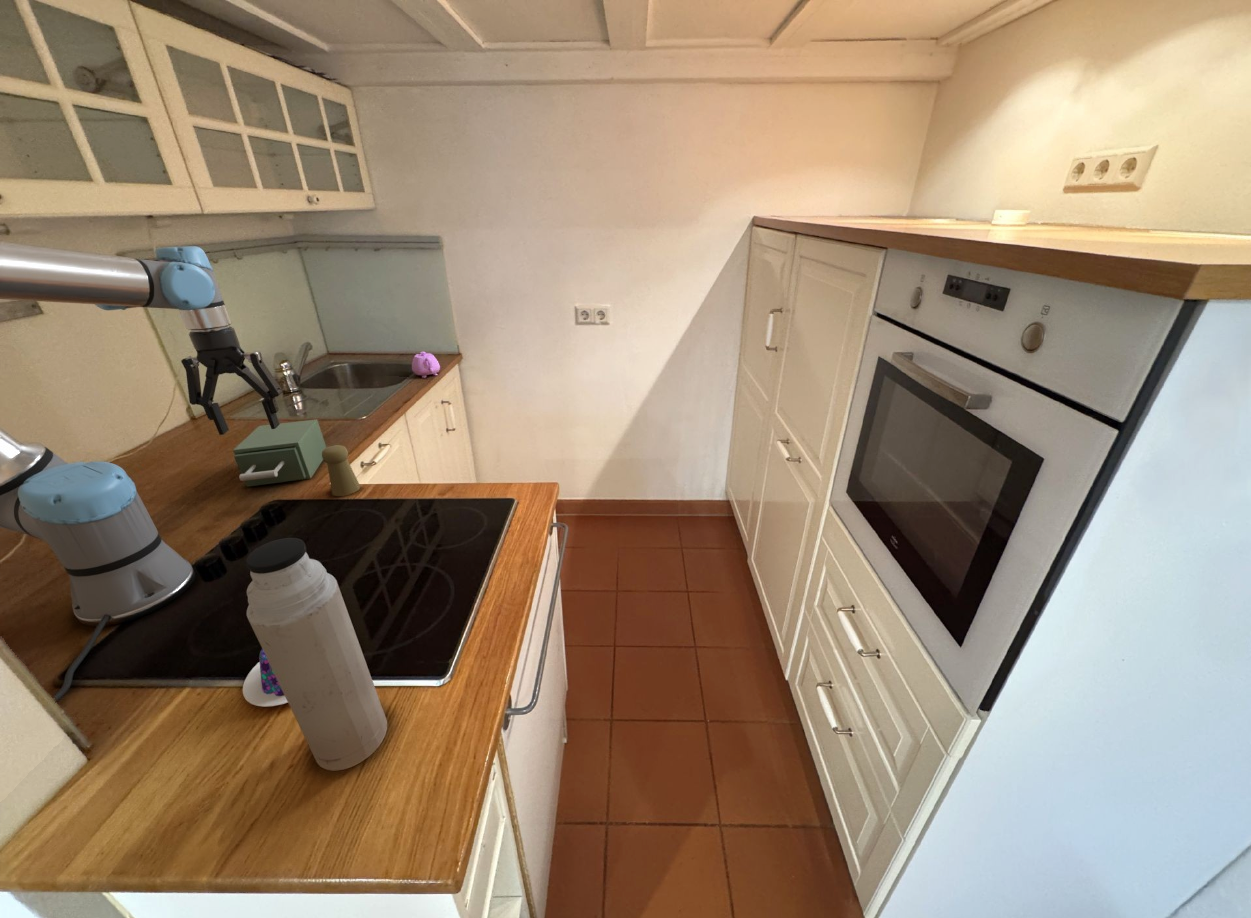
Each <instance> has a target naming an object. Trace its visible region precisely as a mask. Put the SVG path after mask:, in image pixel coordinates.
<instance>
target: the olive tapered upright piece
mask: <svg viewBox="0 0 1251 918" xmlns="http://www.w3.org/2000/svg"><path fill="white" fill-rule="evenodd" d="M348 457H349V451H348V449H347V447H346V446H344V445H341V444H335V445H330V446H326V448H325V449H324V450H323V452H322V458H323V461H324V462H325V463H326V464H327V471H328V477H329V478H328V479H329V483H330V484H329V485H330V489H331V494H332V496H334V497H345V496H349V495H352V494H354V493H356V492H358V491H359V490H361V485H360V482H359V481H358V479H357V476H356V474H355V472H354V470H353V468H352V466H351V464H350V461H349V460H348Z"/></svg>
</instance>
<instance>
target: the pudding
mask: <svg viewBox="0 0 1251 918" xmlns="http://www.w3.org/2000/svg"><path fill="white" fill-rule="evenodd" d="M258 659H259V662H257V663H256V664H255V666H253V667H252V669H251V670H250V671H249V673H248V674H247V675H246V677H245V679H244V682H243V685H242V694H243V697H244V699H245V701H247V703H249V704H250V705H254V706H257V707H275V706H281V705H284V704H287V703H288V701H287V699H286V697H285V695H284V693H283V691H282V689H281V687H280V685H279V683H278V681H277V678H276V676H275V674H274V672H273V670H272V668H271V666H270V664H269V662H268V659H267V657H266V655H265V653H264V651H263V649H262V648H261V649H260V652H259V657H258ZM288 704H289V703H288Z"/></svg>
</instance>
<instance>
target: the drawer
mask: <svg viewBox="0 0 1251 918" xmlns="http://www.w3.org/2000/svg"><path fill="white" fill-rule="evenodd" d="M234 461H235V463H236V465H237V467H238V469H239V472H240V474H239V475H238V476H239V481H240V482H244V484H245V486H246V487H248V486H249V487H252V486H251V485H257V486H260V485H259V484H265V485H268V484H267V483H272V484H275V483H274V482H280V483H283V482H282V481H287V482H291V481H290V480H295V481H298V480H297V479H303V480H306V479H305V477H306V475H305V472H304V469H303V466H302V463H301V461H300V458H299V455H298V452H297V449H296V447H295V446H293V447H284V448H276V449H267V450H259V451H250V452H243V454H236V455H235V454H234Z"/></svg>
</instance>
